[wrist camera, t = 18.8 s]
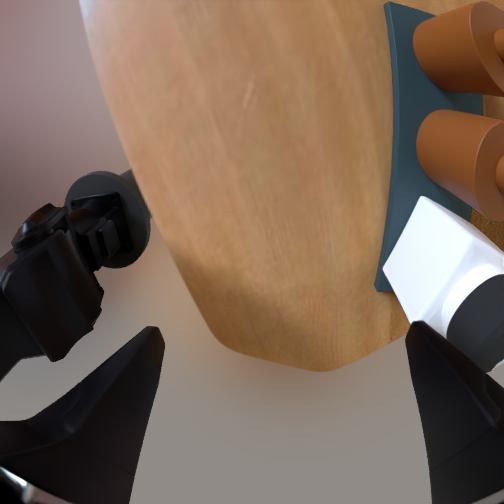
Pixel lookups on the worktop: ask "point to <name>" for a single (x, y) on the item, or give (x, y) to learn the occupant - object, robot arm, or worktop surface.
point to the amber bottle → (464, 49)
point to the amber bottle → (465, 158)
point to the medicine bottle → (451, 281)
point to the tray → (413, 130)
